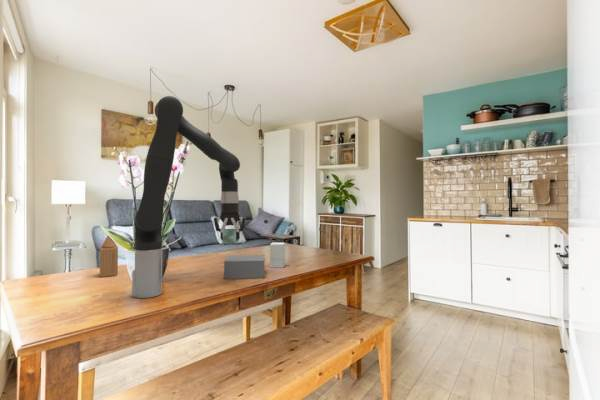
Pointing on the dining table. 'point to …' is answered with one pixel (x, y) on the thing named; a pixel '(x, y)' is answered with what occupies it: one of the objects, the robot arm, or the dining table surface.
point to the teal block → (229, 236)
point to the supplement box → (277, 255)
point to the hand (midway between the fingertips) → (230, 240)
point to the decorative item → (108, 258)
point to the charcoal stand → (244, 266)
